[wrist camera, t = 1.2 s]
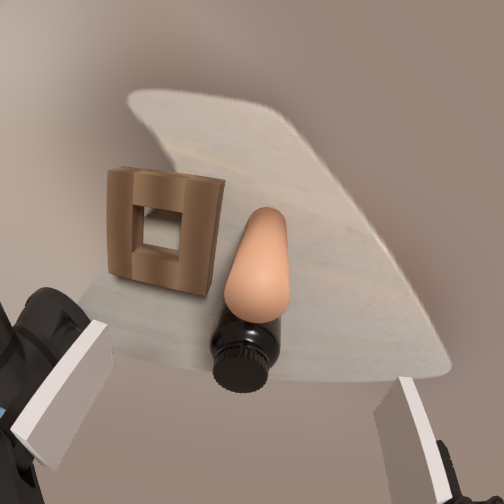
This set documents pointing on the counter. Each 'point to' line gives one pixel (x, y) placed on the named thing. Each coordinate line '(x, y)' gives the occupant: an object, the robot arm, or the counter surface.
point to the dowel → (260, 269)
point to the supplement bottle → (243, 351)
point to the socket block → (167, 198)
